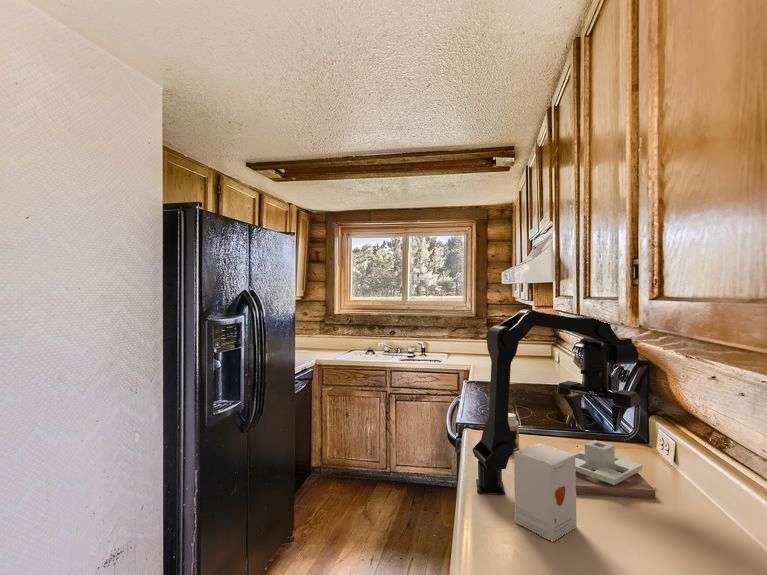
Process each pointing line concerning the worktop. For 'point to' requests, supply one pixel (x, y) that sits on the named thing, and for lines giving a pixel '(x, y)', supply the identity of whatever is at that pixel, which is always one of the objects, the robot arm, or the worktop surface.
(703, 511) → the worktop surface
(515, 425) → the supplement bottle
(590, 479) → the walnut board
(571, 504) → the supplement box
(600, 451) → the flange plate
